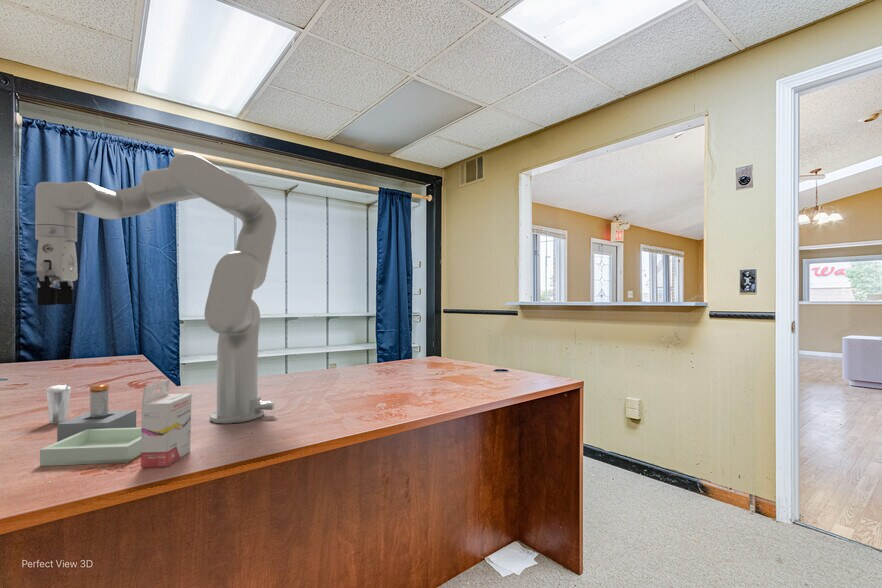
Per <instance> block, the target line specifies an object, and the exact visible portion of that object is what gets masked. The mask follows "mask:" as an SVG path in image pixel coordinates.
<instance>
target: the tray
mask: <svg viewBox="0 0 882 588" xmlns="http://www.w3.org/2000/svg"><path fill="white" fill-rule="evenodd" d="M141 427H142V426H139V427H135V428H108V429H86V430H84V431H82V432H79V433H77V434H75V435H73V436H70V437H68V438H66V439H63V440H61V441H59V442H57V441H56V442H55V443H52V444H50V445H48V446H45V447H43V448H40V449H39V467H42V466H44V467H46V466H47V467H48V466H68V465H69V466H70V465H71V466H73V465H74V466H75V465H94V464H95V465H96V464H117V463H119V464H122V463H124V464H125V463H129V462H131V461H133V460H134V459H135V458H137V457H139V456H141Z"/></svg>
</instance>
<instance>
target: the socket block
mask: <svg viewBox="0 0 882 588" xmlns="http://www.w3.org/2000/svg"><path fill="white" fill-rule="evenodd" d="M56 426H57V427H56V429H57V430H56V431H57V433H56V434H57V435H56V436H57V437H56V440H57V441H56V442H59V441H61V440H63V439H66V438H68V437H70V436H73V435H75V434H77V433H79V432H82V431H84V430H86V429H108V428H137V410H136V409H127V410H124V409H122V410H108V417H107V418H105V419H91V420H90V411H89V412H88V411H87V412H85V413H83V414H80V415H77V416H75V417H72V418H69V419H67V421H64V422H61V423H58V424H57V425H56Z"/></svg>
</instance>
